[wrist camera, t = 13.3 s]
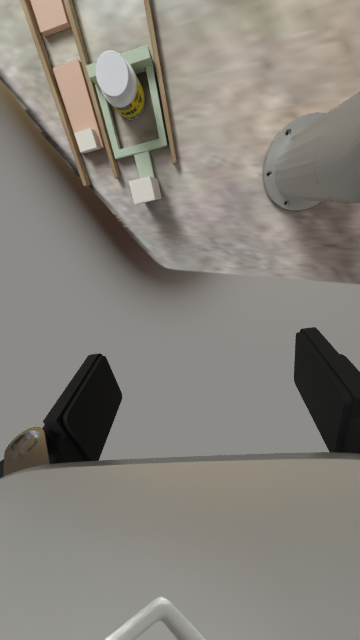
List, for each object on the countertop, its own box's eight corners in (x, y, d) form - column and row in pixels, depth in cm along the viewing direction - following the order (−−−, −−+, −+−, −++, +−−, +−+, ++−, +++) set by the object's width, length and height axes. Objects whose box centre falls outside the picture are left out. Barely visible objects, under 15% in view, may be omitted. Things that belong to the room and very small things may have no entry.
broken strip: (43, -71, 27) (30, -93, 25) (105, 149, 37) (100, 146, 35) (14, -57, 28) (-1, -78, 26) (83, 155, 38) (76, 152, 36)
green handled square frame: (151, 56, 32) (140, 23, 25) (176, 195, 40) (172, 195, 33) (94, 75, 33) (71, 48, 27) (130, 205, 41) (117, 207, 35)
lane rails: (125, -140, 25) (121, -159, 23) (177, 163, 37) (176, 162, 36) (-2, -78, 27) (-12, -92, 26) (87, 186, 40) (83, 185, 39)
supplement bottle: (128, 128, 36) (109, 111, 28) (108, 94, 34) (83, 67, 27) (152, 105, 34) (139, 81, 27) (133, 69, 32) (113, 32, 25)
